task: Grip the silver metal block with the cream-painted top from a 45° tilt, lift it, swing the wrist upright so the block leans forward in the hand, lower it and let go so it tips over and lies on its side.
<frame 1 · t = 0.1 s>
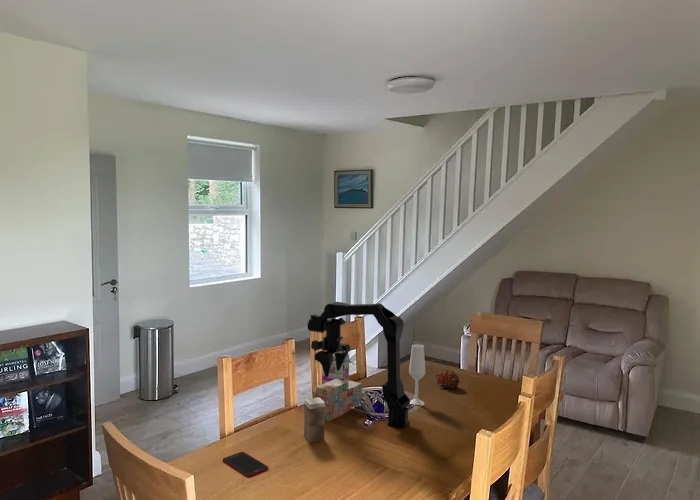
hand: (332, 373, 209), 15 cm above the table, tool pointing down, fingers open, 9 cm apart
stack of blocks: (339, 412, 209), on the table
cell phone: (245, 466, 164), on the table
candy bar box: (335, 391, 233), on the table
silver metal block: (314, 437, 185), on the table
dragon fruit: (447, 387, 241), on the table
champagne flute: (416, 403, 220), on the table
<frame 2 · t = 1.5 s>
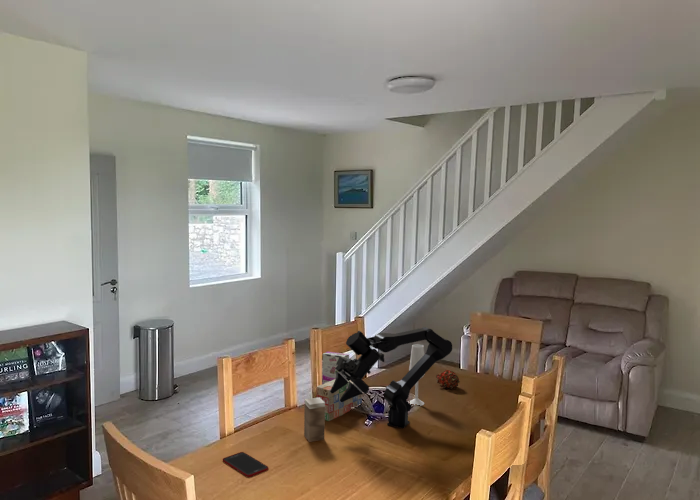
hand: (335, 396, 187), 13 cm above the table, tool tilted 45°, fingers open, 9 cm apart
nothing on the table moved.
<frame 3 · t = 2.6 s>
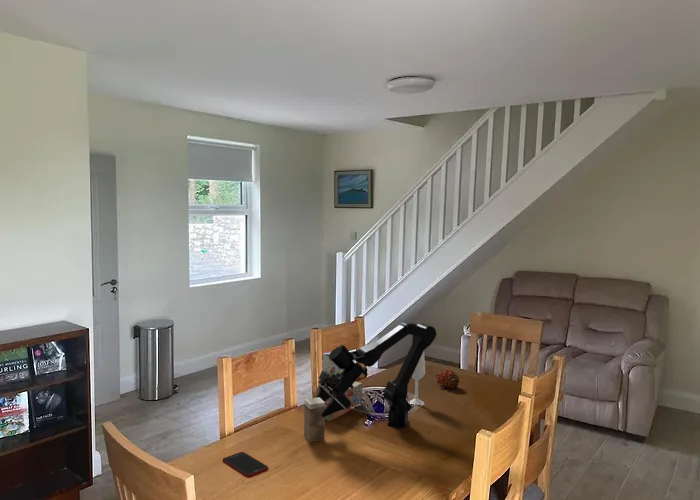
hand: (317, 411, 185), 9 cm above the table, tool tilted 45°, fingers open, 9 cm apart
nothing on the table moved.
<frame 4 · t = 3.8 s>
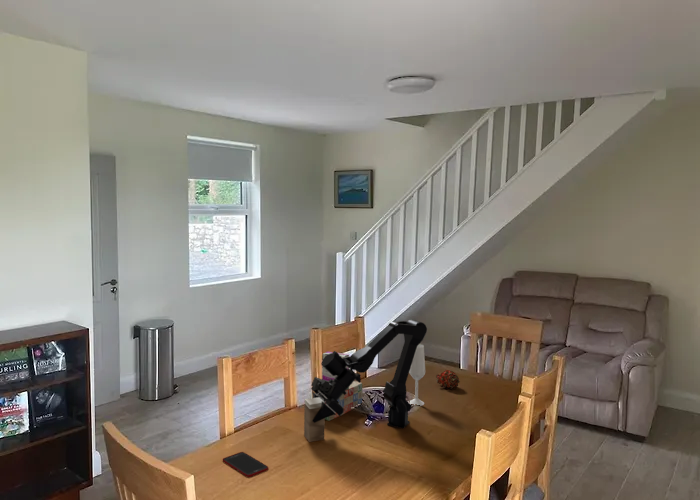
hand: (310, 418, 184), 7 cm above the table, tool tilted 45°, fingers closed on silver metal block, 5 cm apart
silver metal block: (314, 437, 185), on the table, touching gripper
everything else where it was.
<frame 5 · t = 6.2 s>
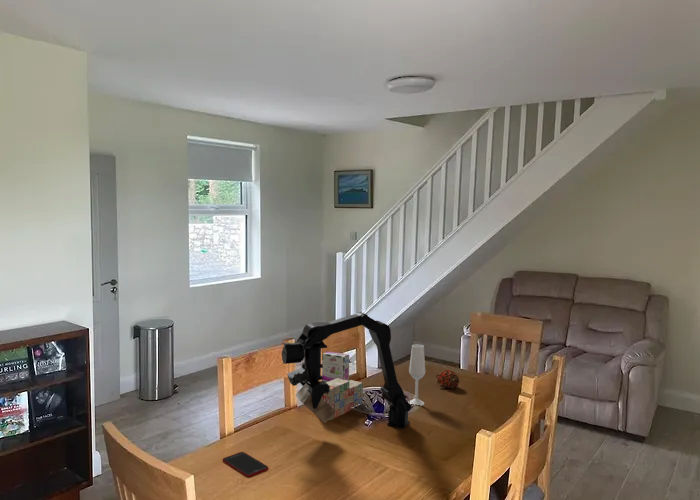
hand: (311, 405, 184), 12 cm above the table, tool pointing down, fingers closed on silver metal block, 5 cm apart
silver metal block: (327, 414, 186), point 8 cm above the table, tilted 45°, touching gripper
everything else where it was.
when the fingers open (7 cm above the table, at t = 7.8 s): silver metal block moves 2 cm and tips over, point 3 cm above the table.
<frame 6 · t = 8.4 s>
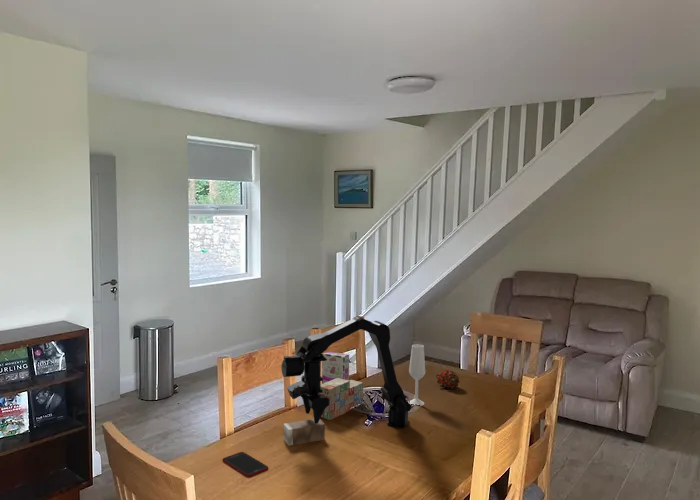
hand: (311, 418, 184), 7 cm above the table, tool pointing down, fingers open, 9 cm apart
silver metal block: (321, 428, 186), point 3 cm above the table, tilted 90°
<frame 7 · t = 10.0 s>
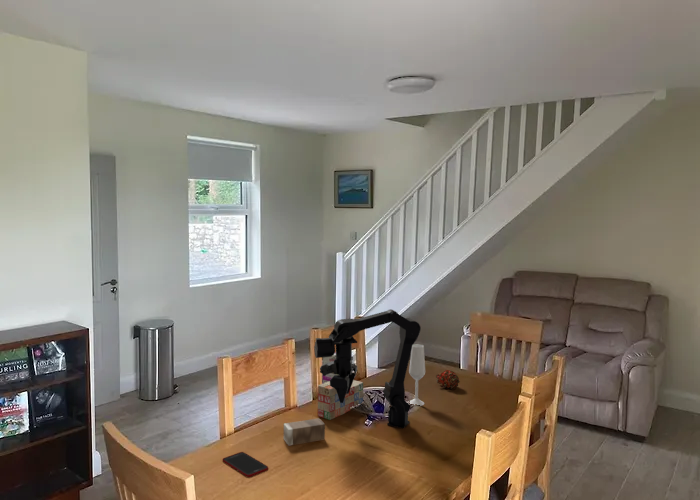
hand: (344, 398, 192), 11 cm above the table, tool pointing down, fingers open, 9 cm apart
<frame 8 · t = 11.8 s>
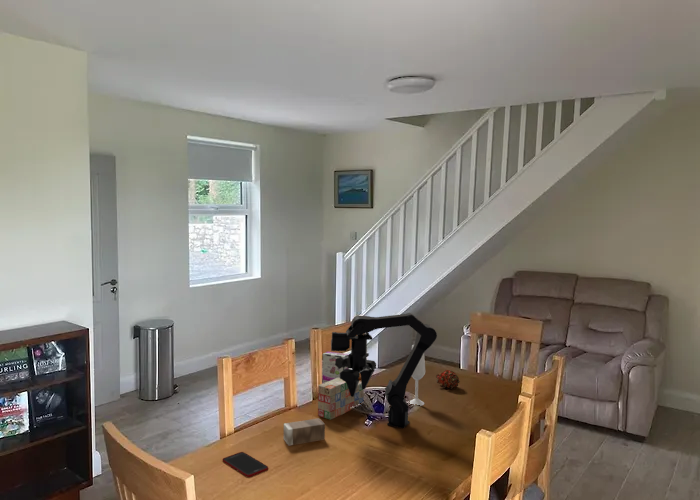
hand: (358, 392, 196), 12 cm above the table, tool pointing down, fingers open, 9 cm apart
at the end: silver metal block tilted 90°; silver metal block inside the target area (0.4 cm from its centre), point 2.7 cm above the table; the gripper is holding nothing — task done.
